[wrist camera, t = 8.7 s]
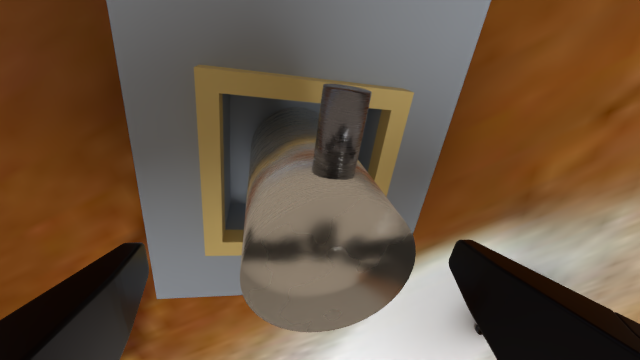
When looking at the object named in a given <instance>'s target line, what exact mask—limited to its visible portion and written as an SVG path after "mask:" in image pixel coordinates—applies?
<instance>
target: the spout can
mask: <svg viewBox="0 0 640 360" xmlns="http://www.w3.org/2000/svg"><path fill="white" fill-rule="evenodd" d="M371 94H372V92H371V91H369V90H366V89H363V88H359V87H354V86H348V85H341V84H324V85H323V91H322V98H321V105H320V113H317V112H315V111H313V110H310V109H307V108H301V107H292V108H286V109H282V110H279V111H276V112H275V113H273V114H271V115H270V116H268V117H267V118H266V119H265V120H264V121H263V122H262V123H261V124H260V125H259V126H258V128H257V130H256V131H255V134H254V136H253V139H252V144H251V154H250V166H249V177H248V188H247V200H246V211H245V222H244V234H243V245H242V256H241V268H240V287H241V290H242V294H243V296H244V298H245V301H246V303H247V304H248V305H249V307H250V308H251V309H252V310H253V311H254V312H255V313H256V314H257V315H258V316H259V317H261V318H262V319H263V320H265V321H267V322H269V323H270V324H272V325H275V326H277V327H280V328H283V329H287V330H292V331H299V332H322V331H330V330H335V329H339V328H343V327H346V326H349V325H352V324H355V323H357V322H360V321H362V320H364V319H366V318H368V317H369V316H371V315H373V314H375V313H376V312H378V311H379V310H380V309H382V308H383V307H385V306H386V305H387V304H388V303H389V302H390V301H392V300H393V298H394V297H395V296H396V295H397V294H398V293H399V292H400V291H401V289H402V288H403V287H404V285H405V283H406V282H407V280H408V278H409V276H410V274H411V272H412V269H413V266H414V262H415V255H416V253H415V242H414V237H413V235H412V232H411V230H410V228H409V227H408V225H407V224H406V222H405V221H404V219H403V218H402V217H401V216H400V214H399V213H398V212H397V210H396V209H395V208H394V206H393V205H392V204H391V202H390V201H389V200H388V198H387V197H386V196H385V194H384V193H383V192H382V191H381V189H380V188H379V187H378V185H377V184H376V183H375V181H374V180H373V179H372V177H371V176H370V175H369V173H368V172H367V171H366V169H365V168H364V167H363V166H362V164H361V163H360V162H359V160H358V156H359V151H360V146H361V142H362V137H363V132H364V127H365V123H366V118H367V113H368V109H369V104H370V99H371Z"/></svg>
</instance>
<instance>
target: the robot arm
mask: <svg viewBox="0 0 640 360" xmlns="http://www.w3.org/2000/svg"><path fill="white" fill-rule="evenodd" d="M449 267H450V269H451V272H452V274H453V276H454V278H455V280H456V283H457V285H458V287H459V289H460V291H461V293H462V296H463V298H464V300H465V302H466V304H467V306H468V308H469V310H470V312H471V314H472V316H473V318H474V320H475V322H476V323H477V326H476V328H475V330H476V332H477V333H478V334H479V335H483V336H484V337H485V339H486V341H487V343H488V344H489V346H490V348H491V350H492V351H493V353H494V355H495V357H496V358H497V360H640V324H639V323H637V322H635V321H633V320H631V319H629V318H627V317H625V316H623V315H621V314H619V313H616V312H613V311H612V310H610V309H608V308H606V307H604V306H602V305H600V304H598V303H596V302H594V301H592V300H591V299H589V298H587V297H585V296H583V295H581V294H579V293H577V292H575V291H573V290H571V289H569V288H567V287H565V286H563V285H561V284H559V283H557V282H555V281H553V280H551V279H549V278H547V277H545V276H543V275H541V274H539V273H537V272H535V271H533V270H531V269H529V268H527V267H525V266H523V265H521V264H519V263H517V262H515V261H513V260H511V259H509V258H507V257H505V256H503V255H501V254H499V253H497V252H495V251H493V250H491V249H489V248H487V247H485V246H483V245H481V244H479V243H477V242H475V241H473V240H459V241H457V242H456V244H455V246H454V249H453V251H452V254H451V256H450V258H449ZM148 273H149V266H148V261H147V255H146V249H145V246H144V244H142V243H124V244H122V245H120V246H118V247H117V248H115V249H114V250H112V251H110V252H109V253H107V254H106V255H104V256H102V257H101V258H99V259H98V260H96V261H94V262H93V263H91V264H90V265H88V266H86V267H85V268H83V269H82V270H80V271H78V272H77V273H75V274H73V275H72V276H70V277H69V278H67V279H65V280H64V281H62V282H61V283H59V284H57V285H56V286H54V287H53V288H51V289H49V290H48V291H46V292H45V293H43V294H41V295H40V296H38V297H37V298H35V299H33V300H32V301H30V302H29V303H27V304H25V305H24V306H22V307H21V308H19V309H17V310H16V311H14V312H13V313H11V314H9V315H8V316H6V317H5V318H3V319H1V320H0V360H120V357H121V355H122V353H123V350H124V348H125V346H126V343H127V341H128V338H129V336H130V333H131V330H132V327H133V323H134V320H135V317H136V314H137V310H138V307H139V304H140V301H141V297H142V294H143V291H144V288H145V284H146V281H147V278H148Z"/></svg>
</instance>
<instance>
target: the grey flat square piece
mask: <svg viewBox="0 0 640 360" xmlns="http://www.w3.org/2000/svg"><path fill="white" fill-rule="evenodd" d="M106 1H107V7H108V13H109V19H110V25H111V30H112V36H113V42H114V48H115V54H116V60H117V66H118V72H119V78H120V84H121V89H122V95H123V101H124V107H125V113H126V119H127V125H128V131H129V137H130V142H131V148H132V154H133V160H134V166H135V172H136V178H137V184H138V190H139V196H140V201H141V207H142V213H143V219H144V225H145V231H146V237H147V243H148V249H149V255H150V260H151V266H152V272H153V278H154V284H155V290H156V296H157V299H164V298H186V297H208V296H230V295H243V294H242V290H241V287H240V268H241V256H242V245H243V234H244V222H245V211H246V200H247V188H248V177H249V166H250V154H251V144H252V139H253V136H254V134H255V131H256V130H257V128H258V126H259V125H260V124H261V123H262V122H263V121H264V120H265V119H266V118H267V117H268V116H270V115H271V114H273V113H275V112H276V111H279V110H282V109H286V108H292V107H301V108H307V109H310V110H313V111H315V112H317V113H320V105H321V98H322V91H323V85H324V84H341V85H348V86H354V87H359V88H363V89H366V90H369V91H371V92H372V94H371V99H370V104H369V109H368V113H367V118H366V123H365V127H364V132H363V137H362V142H361V146H360V151H359V156H358V160H359V162H360V163H361V164H362V166H363V167H364V168H365V169H366V171H367V172H368V173H369V175H370V176H371V177H372V179H373V180H374V181H375V183H376V184H377V185H378V187H379V188H380V189H381V191H382V192H383V193H384V194H385V196H386V197H387V198H388V200H389V201H390V202H391V204H392V205H393V206H394V208H395V209H396V210H397V212H398V213H399V214H400V216H401V217H402V218H403V219H404V221H405V222H406V224H407V225H408V227H409V228H410V230H411V232H412V235H413V232H414V229H415V226H416V223H417V220H418V217H419V214H420V211H421V208H422V205H423V202H424V199H425V196H426V193H427V190H428V187H429V184H430V181H431V178H432V175H433V172H434V169H435V166H436V163H437V160H438V157H439V154H440V151H441V148H442V145H443V142H444V139H445V136H446V133H447V130H448V127H449V124H450V121H451V118H452V115H453V112H454V109H455V106H456V103H457V100H458V97H459V94H460V91H461V88H462V85H463V82H464V79H465V76H466V73H467V70H468V67H469V64H470V62H471V59H472V56H473V53H474V50H475V47H476V44H477V41H478V38H479V35H480V32H481V29H482V26H483V23H484V20H485V17H486V14H487V11H488V8H489V5H490V2H491V0H106Z"/></svg>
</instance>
